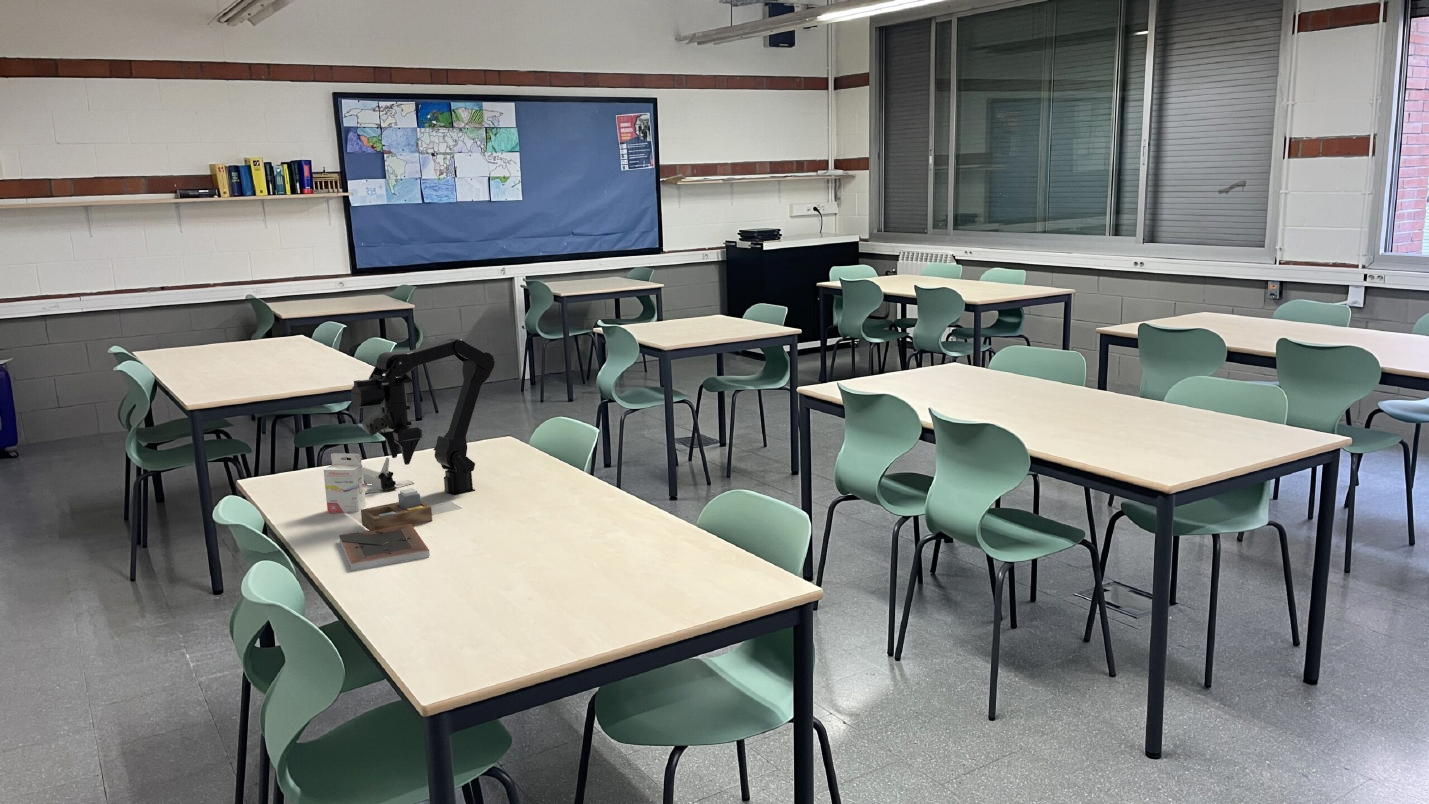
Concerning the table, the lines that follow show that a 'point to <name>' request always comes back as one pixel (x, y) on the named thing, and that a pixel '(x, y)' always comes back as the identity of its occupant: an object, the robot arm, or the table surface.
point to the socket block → (395, 516)
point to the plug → (408, 499)
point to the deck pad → (444, 507)
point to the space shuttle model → (381, 479)
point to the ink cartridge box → (345, 484)
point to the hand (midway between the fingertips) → (400, 461)
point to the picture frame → (383, 546)
